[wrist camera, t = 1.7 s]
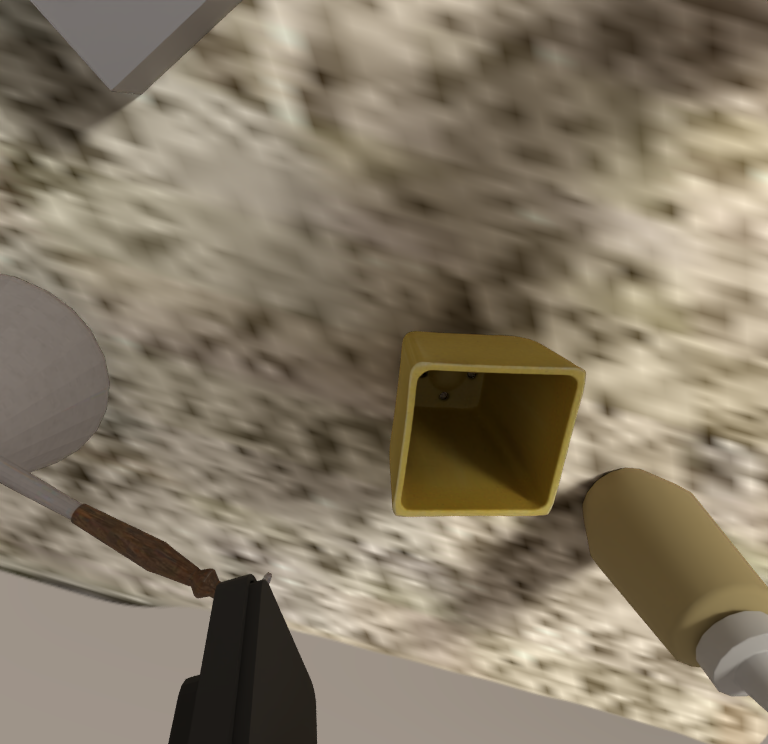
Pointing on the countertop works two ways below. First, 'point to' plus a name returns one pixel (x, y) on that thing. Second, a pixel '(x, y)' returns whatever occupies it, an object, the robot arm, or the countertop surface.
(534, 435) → the flower pot
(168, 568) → the coffee pot
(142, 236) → the countertop surface
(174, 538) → the countertop surface
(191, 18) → the console
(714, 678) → the squeeze bottle
